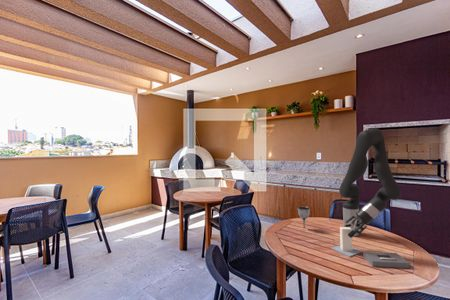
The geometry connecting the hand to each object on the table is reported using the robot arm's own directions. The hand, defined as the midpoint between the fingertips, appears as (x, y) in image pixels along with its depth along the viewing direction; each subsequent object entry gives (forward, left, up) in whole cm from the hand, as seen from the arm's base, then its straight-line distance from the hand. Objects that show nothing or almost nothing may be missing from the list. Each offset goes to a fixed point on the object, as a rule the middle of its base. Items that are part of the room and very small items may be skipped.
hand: (346, 233), depth 122 cm
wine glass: (-5, -36, -10) cm, 38 cm away
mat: (0, 0, -10) cm, 10 cm away
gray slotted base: (-5, +17, -10) cm, 20 cm away
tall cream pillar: (0, 0, -9) cm, 9 cm away
